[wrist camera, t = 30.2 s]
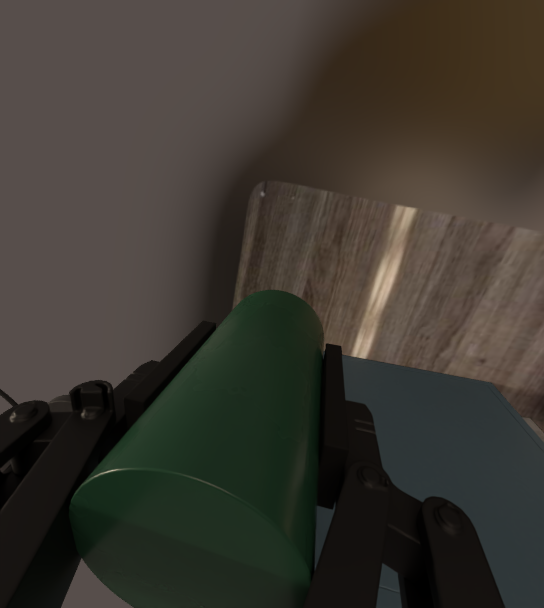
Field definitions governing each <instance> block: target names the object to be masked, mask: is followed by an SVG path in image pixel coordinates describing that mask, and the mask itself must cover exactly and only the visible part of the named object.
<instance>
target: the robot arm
mask: <svg viewBox="0 0 544 608" xmlns="http://www.w3.org/2000/svg"><path fill="white" fill-rule="evenodd" d="M215 330H216V323H212V322H207V321H202V322H201V323H200V324H199V325H198V326H197V327H196V328H195V329H194V330H193V331H192V332H191V333H190V334H189V335H188V336H186V337H185V339H183V340H182V341H181V342H180V343H179V344H178V345H177V346H176V347H175V348H174V349H173V350H172V351H171V352H170V353H169V354H168V355H167V356H166V357H165V358H164V359H163V360H162V361H160V362H157V361H153V360H151V361H150V362H147V363H145V364H143V365H141V366H140V367H138V368H137V369H136V370H135V371H134V372H133V374H130V375H129V376H128V377H127V378H126V380H124V381H122V382H121V383H120V384H119V385H118V386H117V387H116V388H115V389H114V390H113V387H112V385H111V384H110V383H108V382H107V381H102V380H95V381H89V382H85V383H82V384H80V385H78V386H76V387H74V388H73V389H72V390H71V391H70V392H69V394H70V400H71V405H72V410H73V411H71V412H51V411H50V407H49V405H48V403H47V402H44V401H35V400H34V401H29V402H24V403H21V404H19V405H18V404H17V403H16V402H15V401H14V400H13V399H12V398H11V397H9V396H8V395H7V394H6V393H4V392H3V391H2V390H1V389H0V395H1V396H2V397H3V398H5V399H6V400H7V401H8V402H9V403H10V404H11V405H12V406H13V407H12V408H11V409H9V410H7V411H5V412H4V413H3V414H1V415H0V608H61V606H62V603H63V601H64V599H65V596H66V594H67V591H68V589H69V587H70V584H71V582H72V580H73V577H74V575H75V572H76V570H77V567H78V565H79V563H80V560H81V558H82V557H81V556H80V554H79V553H78V551H77V548H76V544H75V540H74V536H73V532H72V527H71V523H70V519H69V513H68V510H69V506H70V502H71V499H72V497H73V496H74V494H75V492H76V490H77V489H78V488H79V487H80V486H81V485H82V483H83V482H84V481H85V480H86V479H87V478H88V476H89V475H90V474H91V473H92V472H93V471H94V470H95V468H96V467H97V466H98V465H99V464H100V463H101V461H102V460H103V459H104V458H105V457H106V456H107V455H108V453H109V452H110V451H111V450H112V449H113V448H114V447H115V445H116V444H117V443H118V442H119V441H120V440H121V438H122V437H123V436H124V435H125V434H126V433H127V432H128V430H129V429H130V428H131V427H132V426H133V425H134V424H135V422H136V421H137V420H138V419H139V418H140V417H141V415H142V414H143V413H144V412H145V411H146V410H147V409H148V407H149V406H150V405H151V404H152V403H153V402H154V400H155V399H156V398H157V397H158V396H159V395H160V394H161V392H162V391H163V390H164V389H165V388H166V387H167V386H168V384H169V383H170V382H171V381H172V380H173V379H174V377H175V376H176V375H177V374H178V373H179V372H180V371H181V369H182V368H183V367H184V366H185V365H186V364H187V363H188V361H189V360H190V359H191V358H192V357H193V356H194V354H195V353H196V352H197V351H198V350H199V349H200V348H201V346H202V345H203V344H204V343H205V342H206V341H207V339H208V338H209V337H210V336H211V335H212V334H213V333H214V331H215ZM334 504H335V511H334V514H333V517H332V520H331V523H330V526H329V529H328V532H327V535H326V538H325V542H324V545H323V548H322V551H321V554H320V557H319V560H318V563H317V566H316V569H315V572H314V575H313V578H312V581H311V584H310V587H309V590H308V593H307V597H306V600H305V603H304V606H303V608H376V605H377V598H378V591H379V584H380V577H381V570H382V563H383V564H385V565H386V566H388V567H389V568H391V569H392V570H394V571H395V572H397V573H398V581H399V588H400V596H401V604H402V608H505V605H504V603H503V600H502V597H501V595H500V592H499V589H498V587H497V584H496V582H495V579H494V576H493V574H492V571H491V568H490V566H489V563H488V561H487V558H486V555H485V553H484V550H483V547H482V545H481V542H480V539H479V537H478V534H477V532H476V529H475V527H474V525H473V523H472V522H471V520H470V518H469V517H468V516H467V515H466V514H465V513H464V512H463V510H462V509H461V508H459V507H458V506H457V505H455V504H454V503H452V502H451V501H449V500H447V499H444V498H442V497H436V496H431V497H428V498H426V499H425V500H424V502H422V501H420V500H418V499H416V498H414V497H412V496H410V495H408V494H407V493H405V492H403V491H402V490H400V489H399V488H398V487H396V486H395V485H394V484H393V483H392V481H391V479H390V477H389V475H388V474H387V473H386V471H385V470H384V469H383V466H382V461H381V456H380V451H379V446H378V441H377V436H376V431H375V426H374V421H373V416H372V413H371V411H370V410H369V409H368V407H367V406H366V404H363V403H358V402H353V401H348V400H345V387H344V374H343V361H342V348H341V346H338V345H332V344H326V349H325V354H324V359H323V376H322V400H321V425H320V450H319V474H318V499H317V506H320V507H324V508H328V509H331V510H333V507H334Z"/></svg>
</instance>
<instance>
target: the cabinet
mask: <svg viewBox="0 0 544 608" xmlns="http://www.w3.org/2000/svg"><path fill="white" fill-rule="evenodd" d="M324 354H325V352H324V351H323V359H324ZM342 361H343V374H344V387H345V400H348V401H353V402H358V403H363V404H366V406H367V407H368V409H369V410H370V411H371V413H372V416H373V421H374V426H375V431H376V436H377V441H378V446H379V451H380V456H381V461H382V466H383V469H384V470H385V471H386V473H387V474H388V475H389V477H390V479H391V481H392V483H393V484H394V485H395V486H396V487H398V488H399V489H400V490H402V491H403V492H405V493H407V494H408V495H410V496H412V497H414V498H416V499H418V500H420V501H422V502H424V500H425V499H426V498H428V497H431V496H436V497H442V498H444V499H447V500H449V501H451V502H452V503H454V504H455V505H457V506H458V507H459V508H461V509H462V510H463V512H464V513H465V514H466V515H467V516H468V517H469V518H470V520H471V522H472V523H473V525H474V527H475V529H476V532H477V534H478V537H479V539H480V542H481V545H482V547H483V550H484V553H485V555H486V558H487V561H488V563H489V566H490V568H491V571H492V574H493V576H494V579H495V582H496V584H497V587H498V589H499V592H500V595H501V597H502V600H503V603H504V605H505V608H544V442H543V441H542V440H541V438H540V437H539V436H538V435H537V434H536V433H535V432H534V430H533V429H532V428H531V427H530V426H529V425H528V424H527V423H526V421H525V420H524V419H523V418H522V417H521V416H520V415H519V413H518V412H517V411H516V410H515V409H514V408H513V407H512V406H511V404H510V403H509V402H508V401H507V400H506V399H505V398H504V396H503V395H502V394H501V393H500V392H499V391H498V390H497V389H496V387H495V386H494V385H493V384H492V383H490V382H485V381H479V380H474V379H469V378H463V377H458V376H453V375H447V374H442V373H437V372H431V371H426V370H421V369H415V368H410V367H404V366H399V365H394V364H388V363H383V362H378V361H372V360H367V359H362V358H356V357H351V356H346V355H342ZM334 511H335V504H334V507H333V510H331V509H328V508H324V507H320V506H317V523H316V548H315V569H316V566H317V563H318V560H319V557H320V554H321V551H322V548H323V545H324V542H325V538H326V535H327V532H328V529H329V526H330V523H331V520H332V517H333V514H334ZM376 608H402V604H401V596H400V588H399V581H398V573H397V572H395V571H394V570H392V569H391V568H389V567H388V566H386V565H385V564H383V563H382V570H381V577H380V584H379V591H378V598H377V605H376Z"/></svg>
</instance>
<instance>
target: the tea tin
mask: <svg viewBox="0 0 544 608" xmlns="http://www.w3.org/2000/svg"><path fill="white" fill-rule="evenodd" d="M323 351H324V332H323V327H322V324H321V321H320V319H319V317H318V315H317V314H316V312H315V311H314V310H313V309H312V307H311V306H310V305H309V304H307V303H306V302H305V301H304V300H302V299H301V298H299V297H297V296H295V295H293V294H291V293H288V292H284V291H279V290H265V291H260V292H256V293H254V294H251V295H249V296H248V297H246V298H244V299H243V300H242V301H241V302H240V303H239V304H238V305H237V306H236V307H235V308H234V310H233V311H232V312H231V313H230V314H229V315H228V317H227V318H226V319H225V320H224V321H223V322H222V323H221V325H220V326H219V327H218V328H217V329H216V330H215V331H214V333H213V334H212V335H211V336H210V337H209V338H208V339H207V341H206V342H205V343H204V344H203V345H202V346H201V348H200V349H199V350H198V351H197V352H196V353H195V354H194V356H193V357H192V358H191V359H190V360H189V361H188V363H187V364H186V365H185V366H184V367H183V368H182V369H181V371H180V372H179V373H178V374H177V375H176V376H175V377H174V379H173V380H172V381H171V382H170V383H169V384H168V386H167V387H166V388H165V389H164V390H163V391H162V392H161V394H160V395H159V396H158V397H157V398H156V399H155V400H154V402H153V403H152V404H151V405H150V406H149V407H148V409H147V410H146V411H145V412H144V413H143V414H142V415H141V417H140V418H139V419H138V420H137V421H136V422H135V424H134V425H133V426H132V427H131V428H130V429H129V430H128V432H127V433H126V434H125V435H124V436H123V437H122V438H121V440H120V441H119V442H118V443H117V444H116V445H115V447H114V448H113V449H112V450H111V451H110V452H109V453H108V455H107V456H106V457H105V458H104V459H103V460H102V461H101V463H100V464H99V465H98V466H97V467H96V468H95V470H94V471H93V472H92V473H91V474H90V475H89V476H88V478H87V479H86V480H85V481H84V482H83V483H82V485H81V486H80V487H79V488H78V489H77V490H76V492H75V494H74V496H73V497H72V499H71V502H70V506H69V510H68V513H69V519H70V523H71V527H72V532H73V536H74V540H75V544H76V548H77V551H78V553H79V554H80V556H81V557H82V559H83V560H84V562H85V563H86V564H87V566H88V567H89V568H90V570H91V571H92V572H93V573H94V574H95V575H96V576H97V578H99V580H100V581H101V582H102V583H103V584H104V585H106V586H107V587H108V588H109V589H110V590H111V591H112V592H114V593H115V594H116V595H117V596H118V597H120V598H121V599H122V600H124V601H125V602H127V603H128V604H130V605H131V606H132V607H134V608H303V606H304V603H305V600H306V597H307V593H308V590H309V587H310V584H311V581H312V578H313V575H314V572H315V548H316V523H317V499H318V474H319V450H320V425H321V400H322V376H323Z"/></svg>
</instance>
